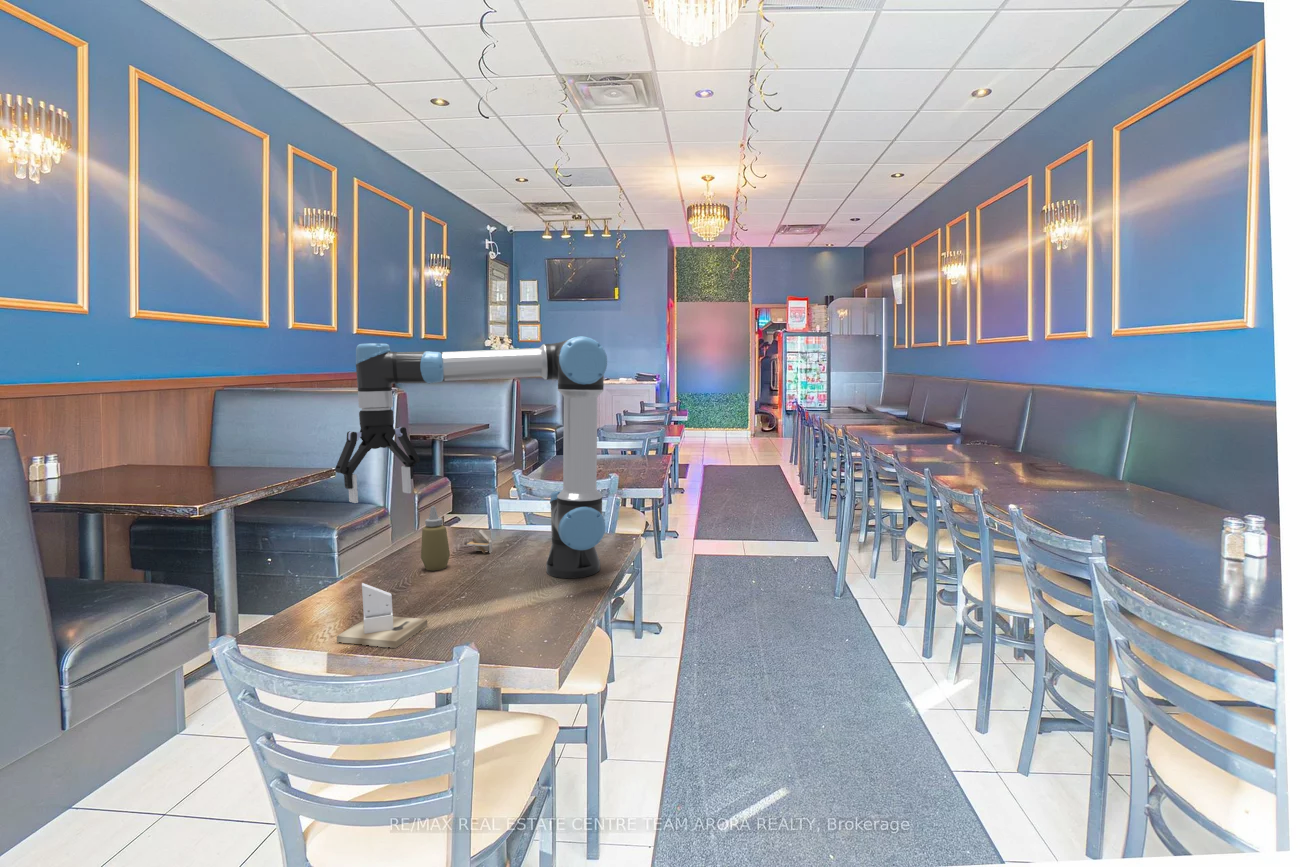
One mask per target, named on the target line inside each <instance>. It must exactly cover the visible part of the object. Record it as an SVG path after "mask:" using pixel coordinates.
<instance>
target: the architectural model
mask: <svg viewBox="0 0 1300 867" xmlns="http://www.w3.org/2000/svg"><path fill="white" fill-rule="evenodd" d="M473 533H474V537H473V541H472V540H471V541H470V542H469V541H468V542H467V543H466V546H475V547H474V548H475V549H474V551H475V550H476V551H482V552H481V553H483V554H486V553H485V551H489V552H488V553H490V554H492V553H493V541H492V530H491V529H490V530H489V529H474V532H473ZM491 552H492V553H491Z"/></svg>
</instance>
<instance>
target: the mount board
mask: <svg viewBox="0 0 1300 867" xmlns="http://www.w3.org/2000/svg"><path fill="white" fill-rule="evenodd" d="M427 625H428V618H427V619H426V618H419V617H417V618H415V617H405V616H404V617H403V616H393V629H392V630H386V631H379V632H373V633H366V634H365V633H364V619H362V621H360V622H358V623H356V624H354V625H353V626H351V627H349V628H347V629H346V630H344V631H342V632H341V633H339V634H338V635H336V643H337V642H343V643H355V644H362V645H361V646H366V645H369V646H368V647H377V646H378V648H379V647H380V648H388V647H390V648H389V649H397V648H398V647H400V646H401V645H403V644H404V643H405V642H407V641H408V640H410V639H411V638H413V637H414V636H416V635H417V634H418V633H420V632H421V631H422V630H424V629H425V628H427V627H428V626H429V625H428V626H427ZM426 626H427V627H426ZM424 627H425V628H424ZM423 628H424V629H423ZM420 630H421V631H420ZM419 631H420V632H419ZM416 633H417V634H416ZM413 635H414V636H413ZM412 636H413V637H412ZM409 638H410V639H409ZM343 643H342V644H343Z"/></svg>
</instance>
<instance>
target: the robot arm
mask: <svg viewBox="0 0 1300 867" xmlns="http://www.w3.org/2000/svg"><path fill="white" fill-rule="evenodd" d="M607 367H608V356H607V353H606V350H605V349H604V346H602V344H601V343H600V342H598V341H597V340H595V339H594V338H591V337H589V336H583V335H581V336H575V337H572V338H570V339H567V340H564V341H560V342H554V343H543V344H542V345H541V346H540V347H533V348H531V347H530V348H529V347H528V348H527V347H526V348H506V349H505V348H504V349H484V350H460V351H458V350H457V351H429V350H426V351H392V350H391V349H390V344H389V343H388V344H387V343H379V342H378V343H374V342H373V343H372V342H371V343H369V342H368V343H359V344H358V345H357V346H356V348H355V370H356V381H357V397H358V398H357V399H358V408H359V409H361V410H360V411H358V417H359V426H360V430H359V431H358V432H357V431H352V430H351V431H347V432H346V442H345V443H344V446H343V449H342V452H341V454H340V457H339V459H338V461H337V463H336V466H335V468H334V471H335V473H338V474H342V475H343V480H344V487H345V489H347V490H348V501H349V502H350V503H354V504H356V503H357V504H358V503H359V494H358V493H359V491H358V478H357V477H358V476H357V474H354V472H355V471H356V470H357V468H358V467H359V465H360V464H361V462H362V461H363V459H364V458H365V457H366V455H367V454H368V452H370V451H371V449H373V450H376V449H379V448H382V449H384V448H385V449H386V448H387V449H389V450H390V451H391V452H392V453H393V455H395V456H396V458H398V459H399V461H400V462H401V463H402V464H403V465H402V466H401V468H400V470H401V471H400V472H401V485H402V486H401V487H402V488H401V489H402V493H404V494H412V480H413V479H414V467H416V464H418V463H421V459H420V457H419V456H418V452H417V451H416V450H415V447H414V446H413V443H412V442H411V440H410V438H409V436H408V433H407V432H408V431H407V428H406V427H405V426H403V427H402V426H398V427H396V428H395V427H394V424H395V419H394V410H393V409H392V408H393V406H394V403H393V402H394V400H393V385H392V384H433V383H434V384H435V383H436V384H437V383H441V382H446V381H468V380H469V381H471V380H484V379H485V380H487V379H488V380H489V379H507V378H510V379H511V378H512V379H513V378H529V377H530V378H532V377H533V378H534V377H541V378H543V379H544V380H545V381H546V380H557V391H558V392H559V393H560V394H561V395H562V396H563V442H562V443H563V449H562V450H563V451H562V452H563V458H562V459H563V460H562V462H563V465H562V467H563V469H562V470H563V472H562V473H563V474H562V475H563V476H562V482H563V484H562V488H563V489H562V490H554V491H552V493H551V494H550V500H549V504H550V524H551V525H550V526H551V547H550V549H549V553H548V556H547V559H546V563H545V569H546V570H545V571H546V574H547V575H549V576H551V577H554V578H560V579H577V578H578V579H579V578H584V577H589V576H593V575H595V574H597V573H598V572H600V571H601V561H600V560H601V559H600V557H599V555H598V552H597V549H596V546H597V545H598V544H599V543H600V541H601V540H603V538H604V536H605V532H606V522H605V519H604V516H603V494H601V492H600V491H599V490H598V489H597V483H598V482H597V477H598V475H597V474H598V472H597V468H598V467H597V466H598V460H597V459H598V458H597V457H598V397H599V396H600V395H601V394H602V393H603V392H604V384H605V383H604V382H605V380H604V379H605V377H604V376H605V373H606V371H607ZM395 436H396V437H397V438H398V441H399V443H400V444H401V445H402V446H401V447H403V449H401V447H400V446H399V445H398V443H397V442H396V441H395V440H394V437H395ZM359 439H360V440H361V442H360V444H359V445H358V448H357V450H356V452H355V453H354V451H355V448H356V445H357V442H358V441H359ZM403 450H404V451H403ZM353 453H354V454H353Z"/></svg>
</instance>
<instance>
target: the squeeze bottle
mask: <svg viewBox="0 0 1300 867" xmlns="http://www.w3.org/2000/svg"><path fill="white" fill-rule="evenodd" d="M436 508H437V507H436V506H431V507H430V511H429V517H428V518H426V519H425V520H424V521H425V526H424V527H423V528H422V530H421V547H420V548H421V550H420V559H421V561H422V563H423V565H424V566H423V567H424V568H425V569H424V570H427V571H439V570H443V569H446V568H447V566H448V563H449V559H450V557H451V552H450V547H449V546H450V545H449V540H448V533H447V532H448V531H447V527H446V526H445V525H443V518H442V517H439V516H438V512H437V509H436Z"/></svg>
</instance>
